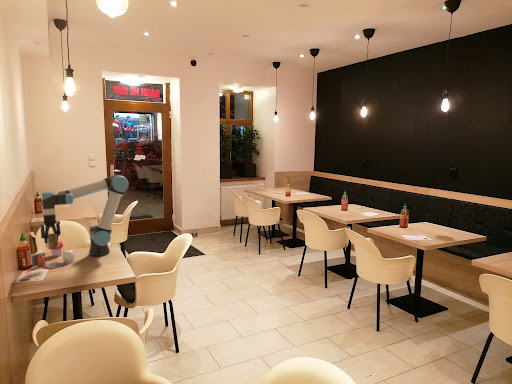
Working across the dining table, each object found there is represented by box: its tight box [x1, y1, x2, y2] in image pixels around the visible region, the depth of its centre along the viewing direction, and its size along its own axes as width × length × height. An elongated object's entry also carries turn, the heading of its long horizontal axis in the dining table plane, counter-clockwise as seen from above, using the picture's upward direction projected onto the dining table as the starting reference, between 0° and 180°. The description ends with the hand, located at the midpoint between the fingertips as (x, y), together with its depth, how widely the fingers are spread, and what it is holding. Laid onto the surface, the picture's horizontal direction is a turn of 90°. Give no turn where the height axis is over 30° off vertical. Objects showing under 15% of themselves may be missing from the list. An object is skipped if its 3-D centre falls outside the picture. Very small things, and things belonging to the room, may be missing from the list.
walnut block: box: [48, 232, 59, 248], centre depth 270 cm, size 6×6×9 cm
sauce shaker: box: [37, 253, 46, 268], centre depth 273 cm, size 4×4×9 cm
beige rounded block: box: [62, 249, 75, 264], centre depth 281 cm, size 7×7×8 cm
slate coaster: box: [41, 261, 67, 270], centre depth 273 cm, size 11×11×1 cm
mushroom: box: [47, 240, 65, 258], centre depth 297 cm, size 11×11×12 cm
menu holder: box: [30, 252, 46, 266], centre depth 278 cm, size 8×3×7 cm, turn 150°
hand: (52, 246), depth 271 cm, fingers closed on walnut block, 6 cm apart
